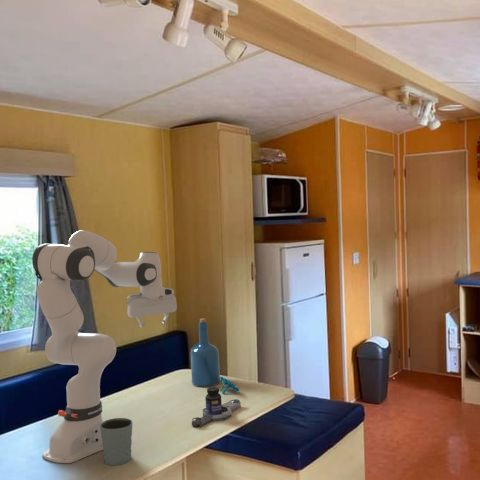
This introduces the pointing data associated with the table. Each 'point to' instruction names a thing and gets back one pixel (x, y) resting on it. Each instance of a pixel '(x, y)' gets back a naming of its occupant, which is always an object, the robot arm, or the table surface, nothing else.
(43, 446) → the table surface
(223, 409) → the octagon ring handle
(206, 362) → the wine bottle
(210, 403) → the pill bottle
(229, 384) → the blue jointed connector toy
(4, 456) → the table surface
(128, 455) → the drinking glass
